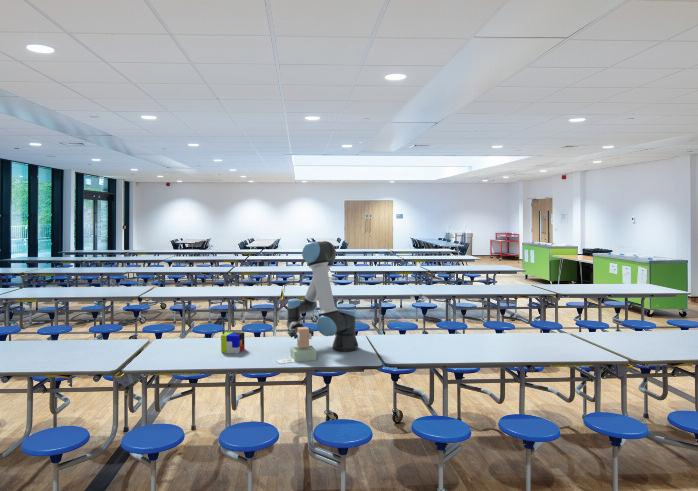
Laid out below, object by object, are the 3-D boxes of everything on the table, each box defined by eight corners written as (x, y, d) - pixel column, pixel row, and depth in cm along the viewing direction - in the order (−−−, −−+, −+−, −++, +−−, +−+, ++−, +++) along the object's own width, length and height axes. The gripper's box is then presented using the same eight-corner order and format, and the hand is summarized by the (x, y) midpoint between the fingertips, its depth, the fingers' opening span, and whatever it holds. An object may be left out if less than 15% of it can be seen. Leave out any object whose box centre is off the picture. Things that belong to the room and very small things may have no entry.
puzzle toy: (237, 353, 293) (237, 336, 293) (221, 352, 295) (221, 335, 295) (244, 349, 303) (244, 332, 303) (228, 348, 305) (228, 331, 305)
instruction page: (293, 358, 282) (293, 357, 282) (297, 361, 276) (297, 361, 276) (275, 360, 278) (275, 360, 278) (279, 363, 272) (279, 363, 272)
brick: (307, 344, 287) (307, 326, 286) (309, 347, 282) (309, 328, 281) (297, 345, 285) (297, 327, 285) (299, 347, 280) (299, 329, 279)
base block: (311, 354, 291) (311, 345, 291) (316, 359, 280) (316, 350, 279) (290, 355, 288) (290, 347, 287) (294, 361, 276) (294, 352, 276)
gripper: (312, 334, 303) (321, 343, 281) (281, 336, 298) (288, 345, 276) (312, 321, 303) (321, 329, 280) (281, 323, 297) (288, 331, 275)
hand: (305, 337), depth 278 cm, fingers closed on brick, 5 cm apart
